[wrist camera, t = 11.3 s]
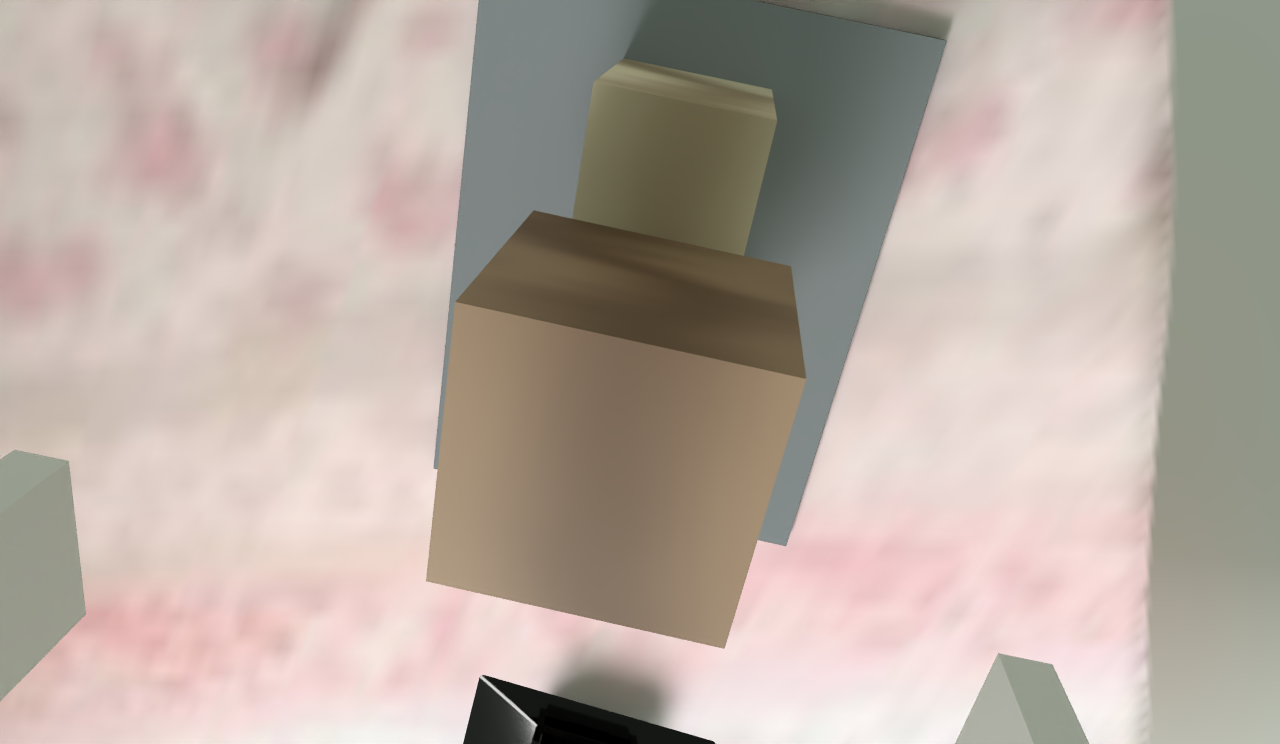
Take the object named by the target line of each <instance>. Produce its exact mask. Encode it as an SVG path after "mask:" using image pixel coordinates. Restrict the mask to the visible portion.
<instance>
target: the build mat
mask: <svg viewBox="0 0 1280 744" xmlns="http://www.w3.org/2000/svg"><path fill="white" fill-rule="evenodd" d="M946 42H947V41H946V40H943V39H938V38H933V37H928V36H923V35H918V34H914V33H909V32H904V31H899V30H894V29H889V28H885V27H880V26H875V25H870V24H865V23H861V22H856V21H851V20H846V19H841V18H836V17H832V16H827V15H822V14H817V13H812V12H807V11H803V10H798V9H793V8H788V7H783V6H778V5H774V4H769V3H764V2H759V1H754V0H479V3H478V14H477V24H476V34H475V45H474V55H473V65H472V76H471V86H470V96H469V107H468V117H467V128H466V138H465V148H464V159H463V169H462V179H461V190H460V200H459V210H458V221H457V231H456V241H455V252H454V262H453V272H452V283H451V293H450V304H449V314H448V324H447V335H446V345H445V355H444V366H443V376H442V386H441V397H440V407H439V417H438V428H437V438H436V449H435V459H434V469H438V462H439V452H440V443H441V433H442V423H443V414H444V404H445V394H446V385H447V375H448V365H449V356H450V346H451V336H452V327H453V317H454V307H455V301H456V300H457V299H458V298H459V297H460V295H461V294H462V293H463V292H464V291H465V290H466V289H467V287H468V286H469V285H470V284H471V283H472V282H473V280H474V279H475V278H476V277H477V276H478V275H479V273H480V272H481V271H482V270H483V269H484V268H485V266H486V265H487V264H488V263H489V262H490V261H491V259H492V258H493V257H494V256H495V255H496V254H497V252H498V251H499V250H500V249H501V248H502V247H503V245H504V244H505V243H506V242H507V241H508V240H509V238H510V237H511V236H512V235H513V234H514V233H515V231H516V230H517V229H518V228H519V227H520V226H521V224H522V223H523V222H524V221H525V220H526V219H527V217H528V216H529V215H530V214H531V213H532V212H533V210H535V211H539V212H544V213H549V214H553V215H558V216H562V217H567V218H572V217H573V211H574V204H575V198H576V191H577V185H578V178H579V172H580V166H581V159H582V153H583V146H584V140H585V133H586V127H587V120H588V114H589V108H590V101H591V95H592V88H593V82H594V81H595V80H597V79H598V78H599V77H600V76H602V75H603V74H604V73H605V72H607V71H608V70H609V69H611V68H612V67H613V66H614V65H616V64H617V63H618V62H619V61H621V60H622V59H623V58H624V59H629V60H634V61H639V62H643V63H648V64H653V65H658V66H662V67H667V68H672V69H677V70H682V71H686V72H691V73H696V74H701V75H705V76H710V77H715V78H720V79H725V80H729V81H734V82H739V83H744V84H749V85H753V86H758V87H763V88H768V89H772V93H773V99H774V104H775V110H776V116H777V124H776V128H775V132H774V136H773V140H772V144H771V148H770V152H769V156H768V160H767V164H766V168H765V172H764V176H763V180H762V184H761V188H760V192H759V197H758V201H757V205H756V209H755V213H754V217H753V221H752V225H751V229H750V233H749V237H748V241H747V245H746V249H745V253H744V256H746V257H751V258H756V259H760V260H765V261H770V262H774V263H779V264H783V265H788V266H791V270H792V277H793V284H794V292H795V299H796V306H797V314H798V321H799V328H800V336H801V343H802V350H803V358H804V365H805V372H806V382H805V385H804V389H803V392H802V395H801V399H800V402H799V405H798V408H797V412H796V415H795V418H794V422H793V425H792V428H791V431H790V435H789V438H788V441H787V445H786V448H785V451H784V454H783V458H782V461H781V464H780V468H779V471H778V474H777V477H776V481H775V484H774V487H773V491H772V494H771V497H770V500H769V504H768V507H767V510H766V514H765V517H764V520H763V523H762V527H761V530H760V533H759V537H758V540H760V541H765V542H769V543H774V544H778V545H783V546H786V545H787V542H788V539H789V535H790V532H791V529H792V526H793V523H794V520H795V517H796V513H797V510H798V507H799V504H800V501H801V498H802V495H803V491H804V488H805V485H806V482H807V479H808V476H809V473H810V469H811V466H812V463H813V460H814V457H815V454H816V451H817V447H818V444H819V441H820V438H821V435H822V432H823V429H824V425H825V422H826V419H827V416H828V413H829V410H830V407H831V403H832V400H833V397H834V394H835V391H836V388H837V385H838V381H839V378H840V375H841V372H842V369H843V366H844V363H845V359H846V356H847V353H848V350H849V347H850V344H851V341H852V337H853V334H854V331H855V328H856V325H857V322H858V319H859V315H860V312H861V309H862V306H863V303H864V300H865V297H866V293H867V290H868V287H869V284H870V281H871V278H872V275H873V271H874V268H875V265H876V262H877V259H878V256H879V252H880V249H881V246H882V243H883V240H884V237H885V234H886V230H887V227H888V224H889V221H890V218H891V215H892V212H893V208H894V205H895V202H896V199H897V196H898V193H899V190H900V186H901V183H902V180H903V177H904V174H905V171H906V168H907V164H908V161H909V158H910V155H911V152H912V149H913V146H914V142H915V139H916V136H917V133H918V130H919V127H920V124H921V120H922V117H923V114H924V111H925V108H926V105H927V102H928V98H929V95H930V92H931V89H932V86H933V83H934V80H935V76H936V73H937V70H938V67H939V64H940V61H941V58H942V54H943V51H944V48H945V45H946Z"/></svg>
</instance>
